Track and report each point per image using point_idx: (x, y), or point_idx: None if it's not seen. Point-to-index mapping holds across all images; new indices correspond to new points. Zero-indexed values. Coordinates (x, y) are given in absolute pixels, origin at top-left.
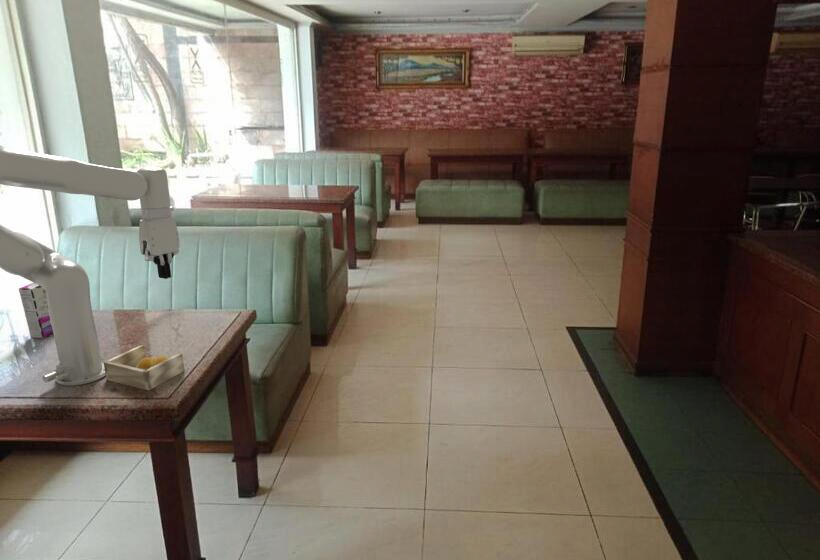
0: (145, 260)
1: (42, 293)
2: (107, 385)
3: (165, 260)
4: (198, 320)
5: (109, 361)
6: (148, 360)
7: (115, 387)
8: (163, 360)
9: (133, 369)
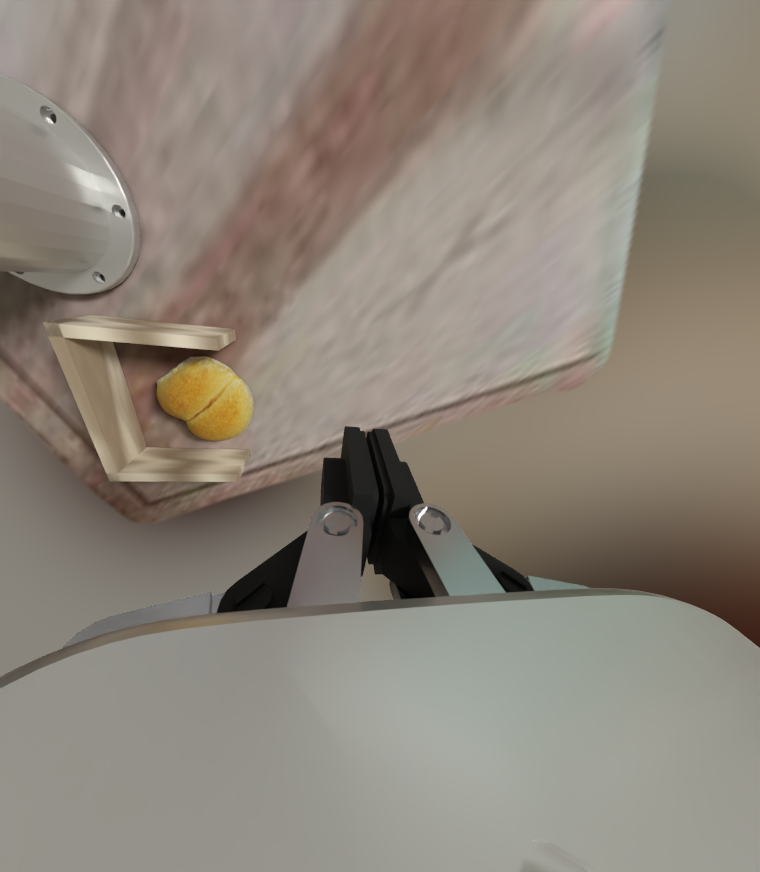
0: (91, 627)
1: None
2: None
3: (401, 572)
4: (537, 269)
5: (63, 338)
6: (184, 409)
7: None
8: (214, 436)
9: (94, 445)
